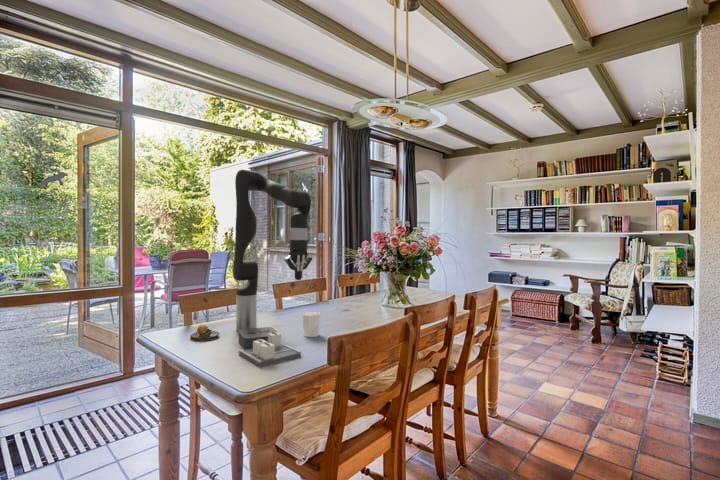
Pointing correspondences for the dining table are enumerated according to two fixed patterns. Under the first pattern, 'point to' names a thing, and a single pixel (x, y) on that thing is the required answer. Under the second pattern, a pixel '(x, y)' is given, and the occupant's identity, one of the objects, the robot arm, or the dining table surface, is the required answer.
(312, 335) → the white cup
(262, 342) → the tab
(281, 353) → the switch board
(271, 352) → the cream striped block
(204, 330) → the wood slice table decoration
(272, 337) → the tab
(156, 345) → the dining table surface
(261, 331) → the streaming box
